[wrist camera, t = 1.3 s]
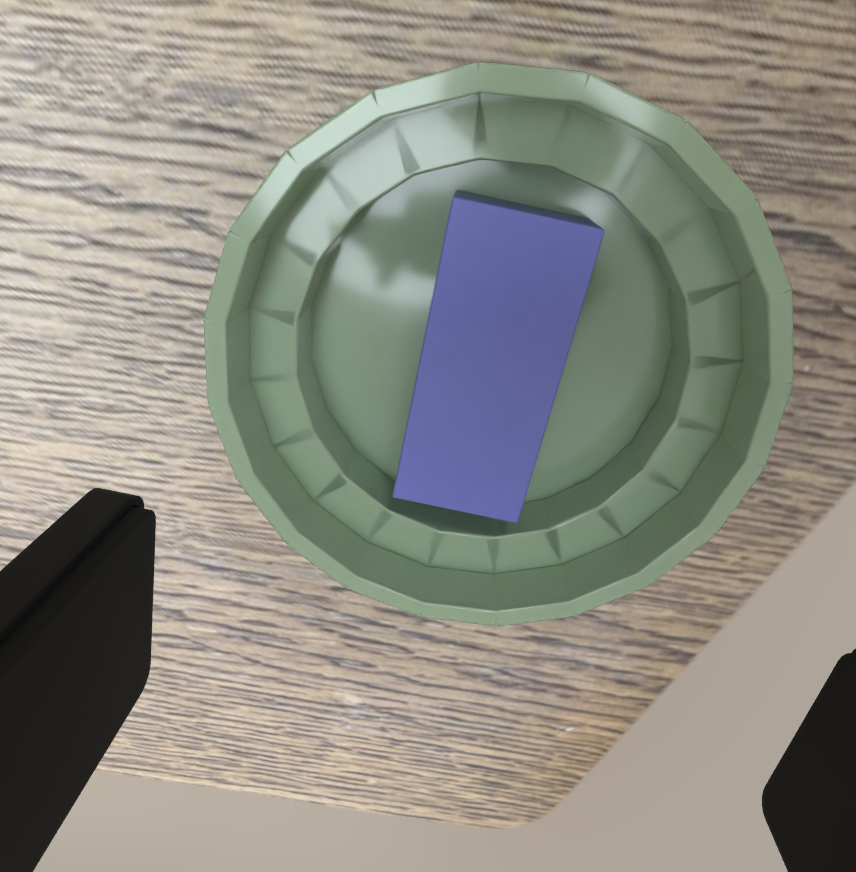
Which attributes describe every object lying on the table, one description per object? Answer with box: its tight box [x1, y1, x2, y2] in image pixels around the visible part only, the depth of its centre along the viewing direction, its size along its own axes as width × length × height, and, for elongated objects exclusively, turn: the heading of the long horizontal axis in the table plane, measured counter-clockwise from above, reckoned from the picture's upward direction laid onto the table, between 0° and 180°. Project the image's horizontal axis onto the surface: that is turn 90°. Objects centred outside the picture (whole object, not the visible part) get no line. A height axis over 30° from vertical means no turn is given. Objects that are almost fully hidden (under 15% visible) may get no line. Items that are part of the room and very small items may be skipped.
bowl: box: [204, 62, 794, 626], centre depth 20 cm, size 15×15×4 cm
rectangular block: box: [393, 190, 605, 523], centre depth 20 cm, size 9×4×2 cm, turn 169°
